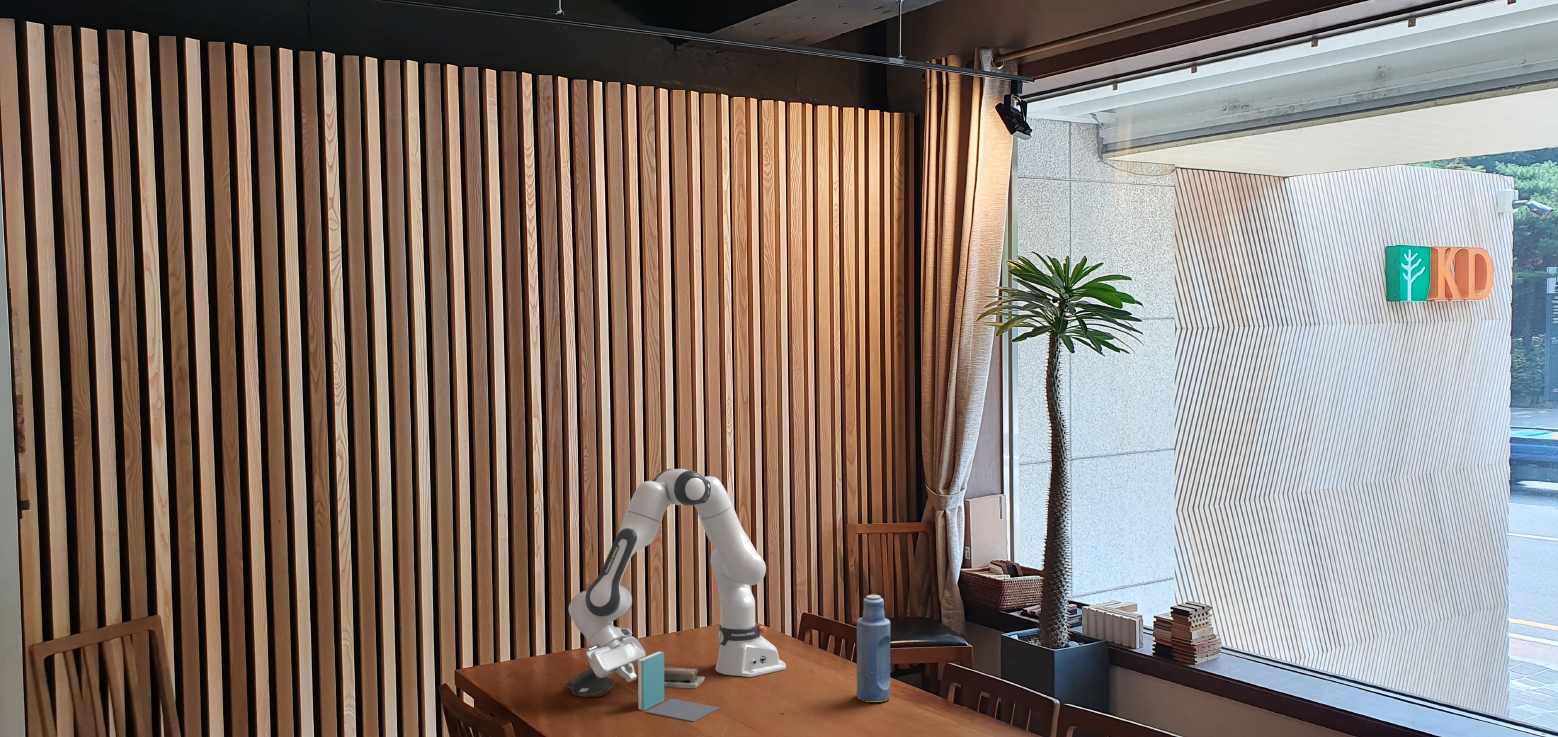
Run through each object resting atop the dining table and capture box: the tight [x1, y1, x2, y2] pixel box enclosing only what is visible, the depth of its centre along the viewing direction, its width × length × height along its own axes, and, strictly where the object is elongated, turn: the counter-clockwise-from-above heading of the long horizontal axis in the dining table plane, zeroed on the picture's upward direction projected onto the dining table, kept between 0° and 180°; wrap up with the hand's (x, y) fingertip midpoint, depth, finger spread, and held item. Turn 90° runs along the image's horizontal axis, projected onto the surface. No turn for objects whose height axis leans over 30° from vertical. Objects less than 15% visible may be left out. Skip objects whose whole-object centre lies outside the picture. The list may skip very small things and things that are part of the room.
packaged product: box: [664, 665, 706, 689], centre depth 335 cm, size 18×5×10 cm
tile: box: [637, 651, 665, 711], centre depth 313 cm, size 2×10×14 cm, turn 150°
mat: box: [644, 698, 721, 723], centre depth 308 cm, size 16×13×1 cm
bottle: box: [856, 594, 891, 701], centre depth 318 cm, size 10×10×30 cm
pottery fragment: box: [564, 667, 616, 698], centre depth 327 cm, size 15×12×4 cm
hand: (632, 679), depth 316 cm, fingers closed
